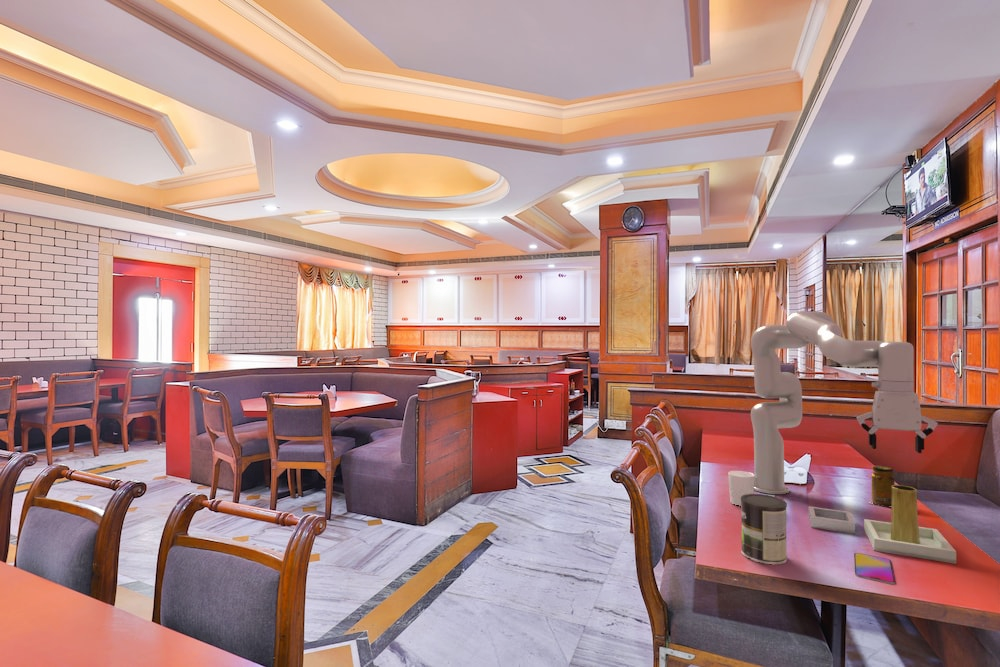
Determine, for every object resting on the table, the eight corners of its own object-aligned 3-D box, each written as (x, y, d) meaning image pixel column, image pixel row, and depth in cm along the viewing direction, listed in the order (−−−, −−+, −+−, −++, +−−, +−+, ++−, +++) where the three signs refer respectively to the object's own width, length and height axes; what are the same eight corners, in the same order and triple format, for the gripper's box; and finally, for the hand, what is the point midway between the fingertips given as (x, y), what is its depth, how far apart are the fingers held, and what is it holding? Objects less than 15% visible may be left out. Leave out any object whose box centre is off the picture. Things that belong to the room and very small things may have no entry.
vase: (912, 548, 127) (911, 492, 127) (885, 539, 132) (884, 486, 133) (924, 543, 130) (923, 489, 130) (897, 535, 135) (896, 483, 135)
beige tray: (874, 550, 127) (874, 538, 127) (864, 529, 141) (864, 519, 141) (956, 563, 120) (956, 551, 120) (936, 540, 134) (936, 529, 134)
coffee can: (739, 559, 123) (739, 502, 123) (742, 544, 132) (742, 491, 132) (787, 568, 118) (786, 509, 118) (787, 552, 126) (787, 497, 127)
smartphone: (890, 559, 122) (895, 583, 110) (890, 562, 122) (895, 586, 110) (854, 552, 126) (854, 574, 114) (854, 554, 126) (854, 577, 114)
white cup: (729, 506, 162) (728, 475, 162) (727, 499, 169) (727, 469, 169) (756, 509, 159) (755, 478, 159) (753, 501, 166) (753, 471, 166)
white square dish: (811, 527, 143) (811, 516, 143) (808, 516, 152) (808, 506, 152) (855, 534, 138) (854, 523, 138) (849, 521, 147) (849, 511, 147)
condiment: (874, 499, 169) (873, 463, 169) (905, 505, 162) (905, 468, 162) (867, 503, 164) (867, 467, 164) (899, 510, 157) (899, 472, 157)
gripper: (858, 386, 135) (858, 449, 135) (941, 390, 127) (941, 457, 127) (854, 384, 142) (854, 443, 142) (933, 387, 133) (933, 450, 133)
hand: (895, 450), depth 134 cm, fingers open, 9 cm apart
